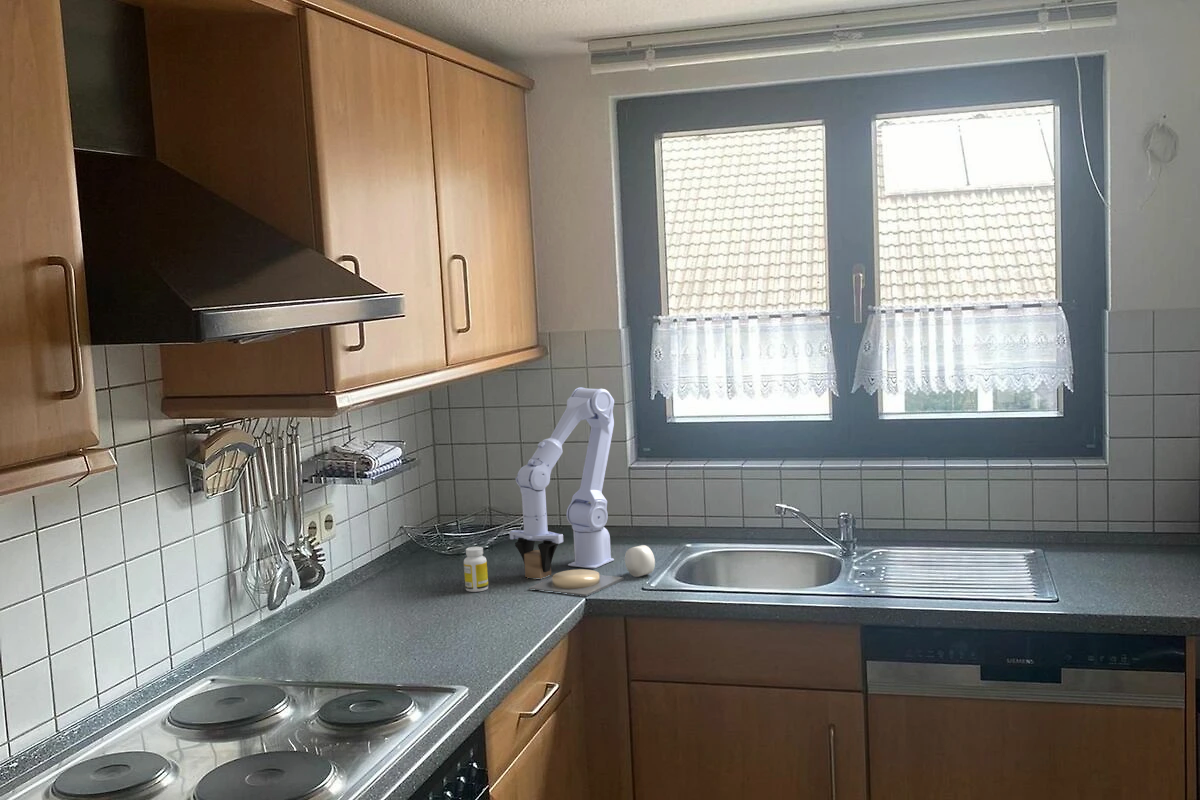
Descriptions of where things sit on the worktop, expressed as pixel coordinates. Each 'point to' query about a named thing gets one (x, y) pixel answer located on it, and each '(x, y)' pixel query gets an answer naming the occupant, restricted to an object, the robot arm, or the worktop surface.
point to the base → (581, 590)
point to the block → (534, 565)
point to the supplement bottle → (475, 570)
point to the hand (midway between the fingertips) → (538, 570)
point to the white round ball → (639, 560)
